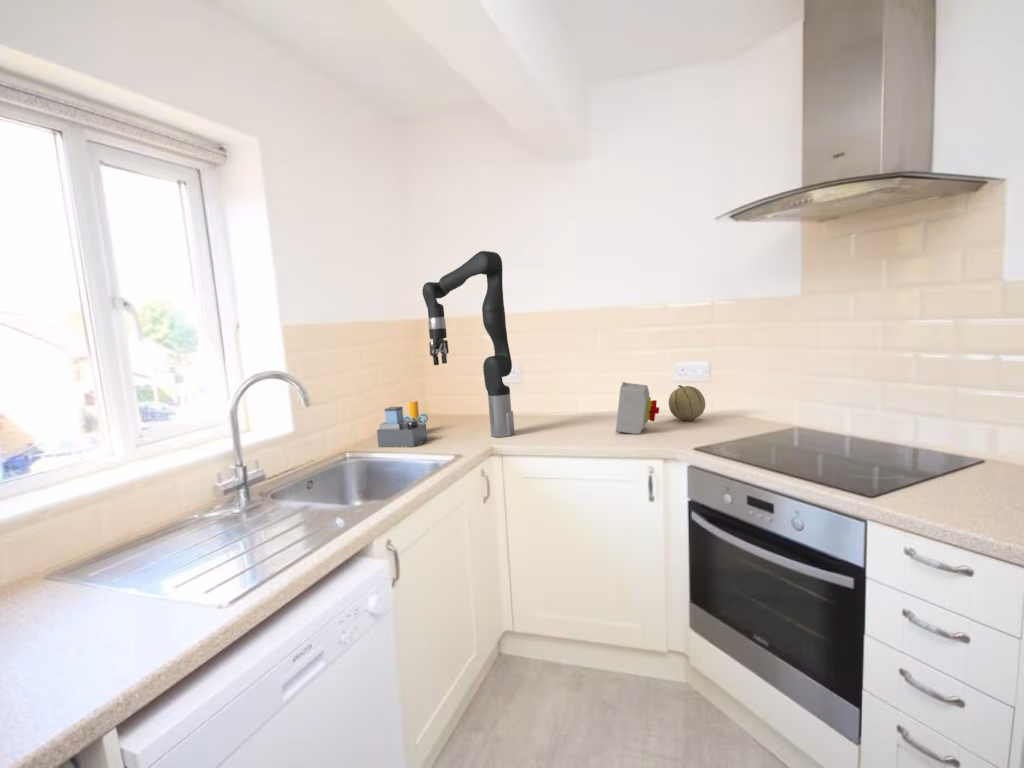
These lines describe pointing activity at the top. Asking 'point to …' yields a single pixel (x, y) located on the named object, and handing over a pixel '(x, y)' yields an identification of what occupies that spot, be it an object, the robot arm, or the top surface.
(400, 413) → the grey lidded box
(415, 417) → the cylinder
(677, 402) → the cantaloupe
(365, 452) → the top surface
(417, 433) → the grey boxy piece
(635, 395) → the electrical switch box
